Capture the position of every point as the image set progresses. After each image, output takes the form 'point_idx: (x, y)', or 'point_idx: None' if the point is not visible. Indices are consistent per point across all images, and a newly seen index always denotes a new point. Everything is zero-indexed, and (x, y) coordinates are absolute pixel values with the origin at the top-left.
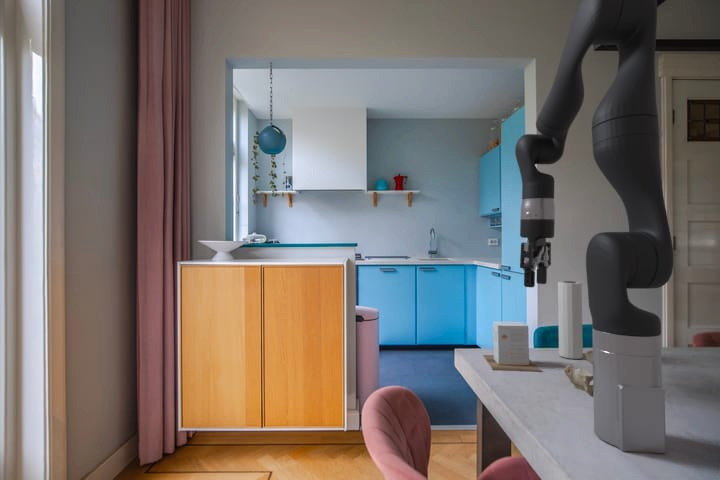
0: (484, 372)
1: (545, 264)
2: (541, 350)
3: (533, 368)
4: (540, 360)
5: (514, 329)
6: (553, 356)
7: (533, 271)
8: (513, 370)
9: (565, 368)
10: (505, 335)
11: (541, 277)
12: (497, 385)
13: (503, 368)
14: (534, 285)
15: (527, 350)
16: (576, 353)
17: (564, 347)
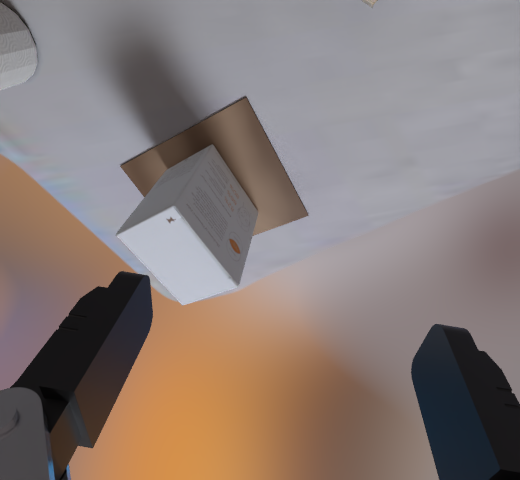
0: (341, 226)
1: (52, 469)
2: (14, 140)
3: (233, 127)
4: (126, 124)
5: (209, 236)
6: (49, 96)
7: (503, 477)
8: (284, 171)
9: (372, 3)
10: (232, 246)
11: (127, 339)
12: (443, 180)
13: (284, 196)
14: (450, 330)
15: (204, 165)
16: (4, 18)
17: (13, 66)
